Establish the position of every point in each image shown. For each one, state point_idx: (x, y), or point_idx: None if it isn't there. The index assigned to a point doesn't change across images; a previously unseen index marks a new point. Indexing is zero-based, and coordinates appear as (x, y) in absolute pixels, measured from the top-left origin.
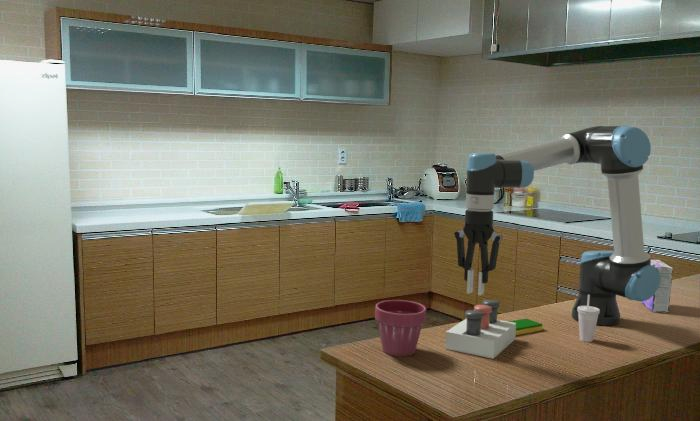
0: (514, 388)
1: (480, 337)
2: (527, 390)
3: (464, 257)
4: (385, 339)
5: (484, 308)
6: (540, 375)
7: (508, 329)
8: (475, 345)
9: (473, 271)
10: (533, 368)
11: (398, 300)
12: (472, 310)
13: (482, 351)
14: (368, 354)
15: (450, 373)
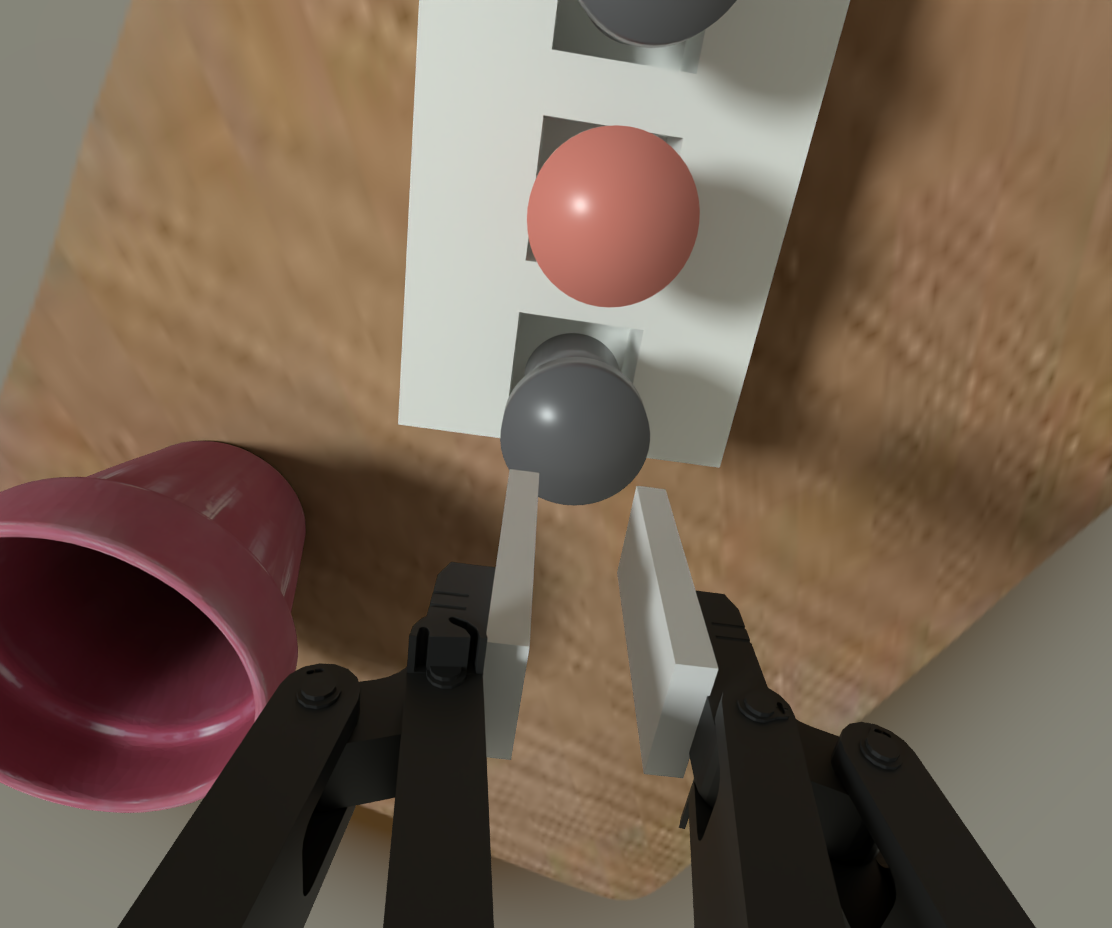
0: (808, 697)
1: None
2: (857, 695)
3: (308, 815)
4: (158, 639)
5: (635, 268)
6: (929, 538)
7: (806, 151)
8: None
9: (529, 629)
10: (905, 468)
11: None
12: (546, 387)
13: None
14: None
15: (543, 663)
